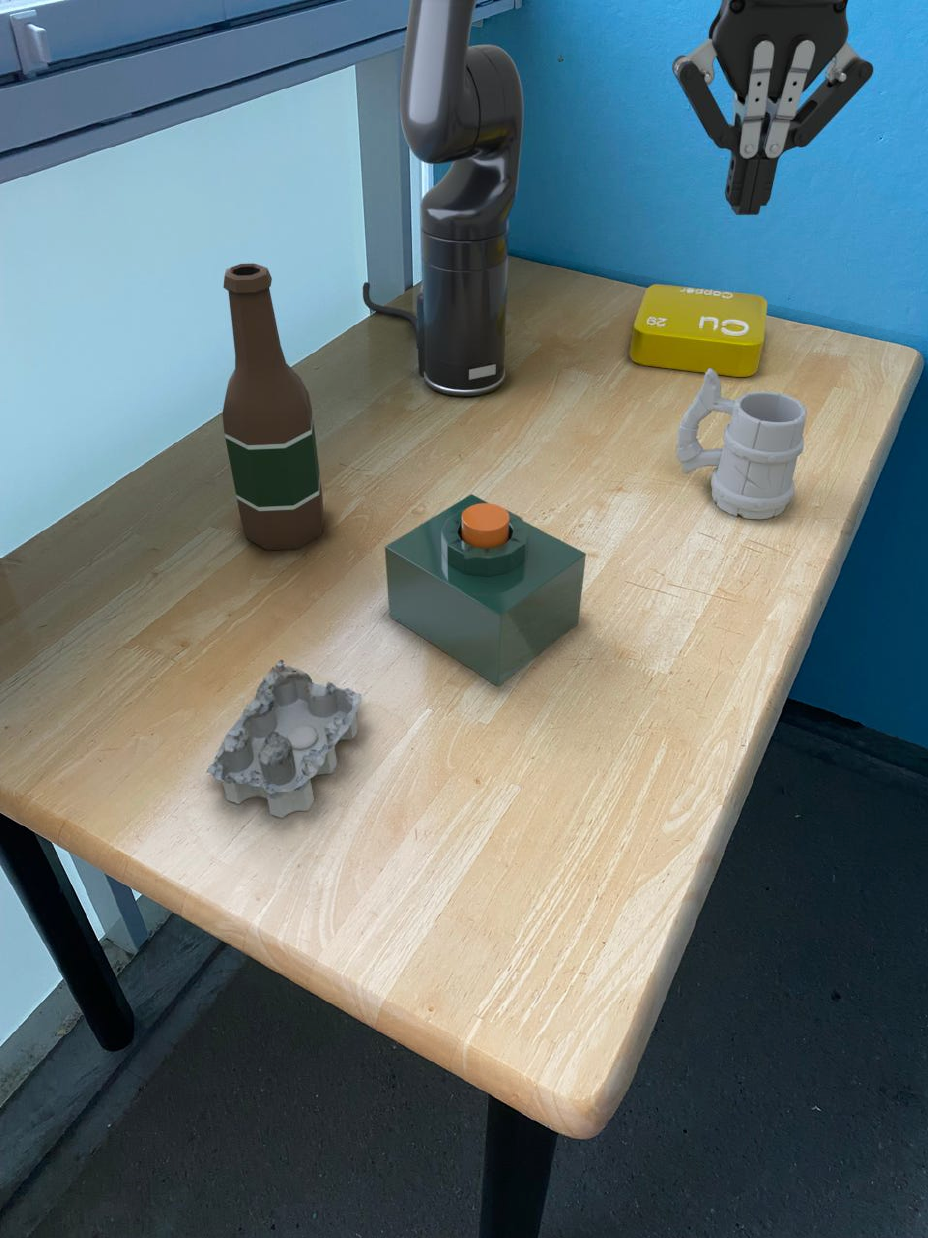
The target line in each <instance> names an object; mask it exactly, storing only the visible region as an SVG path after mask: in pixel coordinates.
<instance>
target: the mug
mask: <svg viewBox="0 0 928 1238" xmlns="http://www.w3.org/2000/svg"><path fill="white" fill-rule="evenodd" d="M694 397H695V398H694V399H693V401H692V402H691V403H690V405H689V406H688V408H687V410H686V412H685V414H684V415H683V417H682V419H681V421H680V422H679V425H678V428H677V443H676V446H675V454H676V460H677V461H678V462H680V466H681V470H682V472H683V473H684V474H686V475H688V474H690V473H693V472H695V471H696V470H698V469H700V468H705V467H706V468H707V467H714V469H713V472H712V475H711V480H710V486H711V489H712V490H711V491H712V492H711V497H712V500H713V502H714V503H716V506H717V507H718V508H719V509H720V510H722V511H724V512H726V513H728V514H729V515H731V516H734V517H737V516H741V517H742V519H746V520H747V519H748V520H767V519H771V518H773V517H778V516H779V515H781V514H782V513H783V512H784V510H785V509H786V508H787V504H788V503H789V502H790V501H791V500H792V498H793V497H794V493H795V482H794V474H795V469H796V466H797V461H798V457H799V456H800V455H801V454H803V452H804V447H805V438H804V436H803V434H804V430H805V426H806V422H807V417H808V411H807V407H806V405H804V403H803V402H802V401H799V399H796V398H795V397H793V396H791V395H789V394H785V393H780V392H779V391H778V392H777V391H770V390H756V391H755V390H754V391H749V392H748V393H743V394H741V395H740V396H738V397H737V398H736V400H733V399H730V398H727V397H726V398H725V397H722V383H721V380H720V378H719V375H717V374H716V372H715V371H714V370H713V369H711V368H709V369H708V370H707V372H706V373H704V379H703V382H702V386H701V388H700V389H699V390H698V392H697V394H696V396H694ZM712 412H718V413H724V414H728V415H730V420H729V423H728V424H726V426H725V428H724V431H723V439H722V440H723V447H722V448H709V449H704V448H703V447H702V445H701V444H700V441H699V439H698V438H697V437H698V431H699V427H700V423H701V422H702V420H704V419H705V418H707V416H708V415H710V414H711V413H712Z"/></svg>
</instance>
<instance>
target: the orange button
mask: <svg viewBox="0 0 928 1238" xmlns="http://www.w3.org/2000/svg"><path fill="white" fill-rule="evenodd" d="M505 509H506V508H504V507H503V506H500V505H498V504H495V503H490V502H488V503H480V504H475V505H472V506H470V507H468V508H467V509H465V510H464V512H463V513H462V539H463V540H464V542H466V543H468V544H469V545H471V546H473V547H480V548H491V547H497V546H501V545H503V544H504V543H506V541H507V540H508V538H509V519H510V517H509V514H508V512H507V511H506V510H507V509H506V510H505Z"/></svg>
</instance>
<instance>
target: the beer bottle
mask: <svg viewBox="0 0 928 1238" xmlns="http://www.w3.org/2000/svg"><path fill="white" fill-rule="evenodd" d="M272 281H273V278H272V276H271V272H270V271H269V268H268V267H266V266H263V265H260V264H257V263H253V262H252V263H239V264H237V265H233V266H231V267H228V268H226V270H225V273H224V279H223V287H222V288H223V289H225V290H226V291H227V292H228V301H229V310H230V316H231V317H230V319H231V329H232V330H231V331H232V339H233V347H234V348H233V349H234V370H233V372H232V373H231V375H230V377H229V379H228V383H227V387H226V392H225V396H224V402H223V408H222V413H221V415H222V424H223V433H224V438H225V444H226V450H227V454H228V455H227V456H228V460H229V466H230V470H231V475H232V480H233V486H234V492H235V496H236V502H237V508H238V512H239V516H240V522H241V526H242V530H243V533H244V536H245V538H246V539H247V540H249V541H251V542H252V543H254V544H256V545H258V546H260V547H261V548H263V549H265V550H266V551H282V550H283V551H285V550H299V549H301V548H303V547H304V546H307V544H309V543H311V542H312V541H314V540H315V539H317V538H319V537H320V536H322V534H323V532H324V531H323V530H324V501H323V500H324V499H323V490H322V489H323V488H322V483H321V482H322V481H321V472H320V464H319V456H318V448H317V447H318V446H317V438H316V430H315V422H314V414H313V407H312V403H311V398H310V392H309V391H308V389H307V387H306V386H305V383H304V381H303V380H302V378H301V377H300V375H299V374H298V373H297V372H296V371H295V370H294V369H293V368H292V367H291V366H290V365H289V364H288V362H287V360H286V358H285V357H286V356H285V355H284V351H283V348H282V346H281V340H280V335H279V330H278V324H277V320H276V315H275V310H274V306H273V305H274V304H273V300H272V295H271V290H270V288H271V286H272Z"/></svg>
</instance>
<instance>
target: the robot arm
mask: <svg viewBox="0 0 928 1238" xmlns="http://www.w3.org/2000/svg"><path fill="white" fill-rule="evenodd" d="M477 2H478V0H410V3H409V11H408V19H407V26H406V32H405V33H406V34H405V40H404V46H403V52H402V53H403V54H402V61H401V70H400V79H399V90H398V91H399V94H398V95H399V100H398V101H399V105H398V106H399V117H400V123H401V129H402V132H403V136H404V139H405V142H406V144H407V147H408V148H409V149H410V151H411V153H412V154H413V156H415V157H416V158H417V159H418V160H419V161H421V162H422V163H425V164H427V165H428V164H429V165H440V164H447V163H451V162H452V163H451V164H450V167H449V169H448V170H447V172H446V173H445V175H444V176H443V177H442V178H441V179H440V180H439V181H438V182H437V183H436V184H435V185H434V186H432V187H431V188H430V189H429V190H428V191H427V192H426V193H425V194H424V195H423V197H422V199H421V201H420V208H419V213H420V215H419V216H420V218H419V219H420V243H421V244H420V247H421V249H420V251H421V253H420V254H421V278H422V279H421V281H422V291H420V292H419V293H418V294H417V295H416V299H415V300H416V302H415V303H416V316H415V315H414V314H413V313H411V312H410V311H407V310H405V309H401V308H396V307H391V306H390V307H389V306H384V305H380V304H377V303H375V302H373V301H372V300H371V297H370V288H371V284H370V282H367V281H366V282H364V283H363V285H362V300H363V303H364V305H366V307H367V308H368V309H370V310H371V311H374V312H376V313H380V314H385V315H389V316H390V315H391V316H396V317H400V318H404V319H406V320H408V321H409V322H410V323H411V324H412V326H413V328H414V331H415V335H416V337H415V338H416V349H417V359H418V360H417V361H418V362H417V363H418V375H420V376H422V377H423V380H424V382H425V384H426V385H427V386H428V388H431V389H432V390H434V391H435V392H438V393H441V394H444V395H449V396H454V397H475V396H481V395H486V394H489V393H491V392H493V391H495V390H497V389H499V388H500V387H501V386H502V385H503V384H504V382H505V380H506V369H505V360H506V359H505V358H506V335H507V334H506V332H507V331H506V330H507V303H508V302H507V301H508V272H509V271H508V270H509V242H510V241H509V238H510V215H511V212H512V208H513V206H514V204H515V201H516V198H517V194H518V189H519V180H520V179H519V178H520V165H521V154H522V145H523V144H522V142H523V132H524V130H523V129H524V93H523V85H522V80H521V77H520V74H519V71H518V68H517V66H516V64H515V62H514V59H512V57H511V56H510V55H509V54H508V52H507V51H505V50H504V49H503V48H501V47H500V46H497V45H494V44H477V45H469V44H470V36H471V29H472V24H473V19H474V14H475V9H476V7H477V6H476V5H477ZM848 2H849V0H721V3H720V7H719V9H718V12H717V14H716V15H715V18H714V19H713V20H712V22H711V23H710V26H709V28H708V29H709V30H708V38H707V39H706V40H705V41H704V42H702V43H700V44H699V46H697V47H696V48H695V49H693V51H691V52H689V54H687V55H684V54H683V55H682V54H681V55H679V56H677V57H676V58H675V59H674V60H673V62H672V64H671V71H672V73H673V75H674V77H675V78H676V80H677V82H678V85H679V86H680V87H681V89H682V91H683V93H684V95H685V97H686V98H687V100H688V102H689V104H690V106H691V107H692V109H693V111H694V113H695V114H696V116H697V118H698V120H699V122H700V124H701V125H702V127H703V129H704V131H705V133H706V134H707V136H708V138H710V139H711V140H712V141H713V143H714V144H715V146H716V147H717V148H718V149H721V150H722V149H726V150H729V151H730V160H729V165H728V166H729V167H728V172H727V178H726V181H725V189H724V196H725V200H726V201H727V203H728V204H729V205H730V207H731V210H732V211H733V212H734V214H735V215H736V216H758V215H759V214H760V211H761V207H766V206H767V205H768V203H769V202H770V200H771V197H772V191H773V187H774V182H775V177H776V173H777V169H778V168H777V167H778V163H779V159H780V157H782V155H783V154H784V153H786V152H787V151H789V150H791V149H795V148H797V147H798V148H805V147H807V146H809V145H810V143H811V142H813V141H814V139H815V138H816V137H817V136H818V135H819V134H820V133H821V132H822V131H823V129H824V128H826V127H827V125H828V124H829V123H830V122H831V121H832V120H833V119H834V118H835V116H837V115H838V114H839V113H840V111H841V110H842V109H843V108H844V107H845V106H846V105H847V104H848V103H849V102H850V101H851V100H852V98H853V97H854V96H855V95H856V94H857V93H858V92H859V91H860V90H861V89H862V88H863V87H864V86H865V84H866V83H868V82H869V80H870V79H871V78H872V76H873V73H874V66H873V64H872V63H871V62H870V61H868V60H867V59H864V58H862V57H861V56H860V55H859V54H858V53H857V52H856V51H855V50H854V48H852V46H851V45H850V43H848V42H847V40H848V37H849V31H850V29H849V28H850V27H849V22H848V17H847V6H848ZM715 60H717V62H718V64H719V67H720V69H721V71H722V73H723V76H724V78H725V80H726V82H727V84H728V86H729V88H731V90H732V91H733V96H732V97H733V98H732V111H733V116H732V124H731V123H728V121H727V119H726V117H725V116H724V114H723V112H722V110H721V108H720V106H719V104H718V102H717V100H716V98H715V96H714V95H713V93H712V91H711V88H710V87H709V86H710V85H711V84H712V83H713V81H714V79H715V77H716V76H715V75H716V73H715V69H714V61H715ZM825 68H826V69H825ZM823 71H824V80H823V81H822V82H821V84H819V86H818V87H817V88H816V89H815V90H814V91H813V92H812V93H811V94H810V96H809V97H807V99H806V100H805V101H804V102H803V103H802V104H801V106H800V107H799V104H800V102H801V101H800V100H801V97H802V94H803V93H804V92H805V91H806V90H808V88H809V87H810V86H811V85H812V84H813V82H814V81H816V79H817V78H818V77H819V75H820V74H821V73H822V72H823Z"/></svg>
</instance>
